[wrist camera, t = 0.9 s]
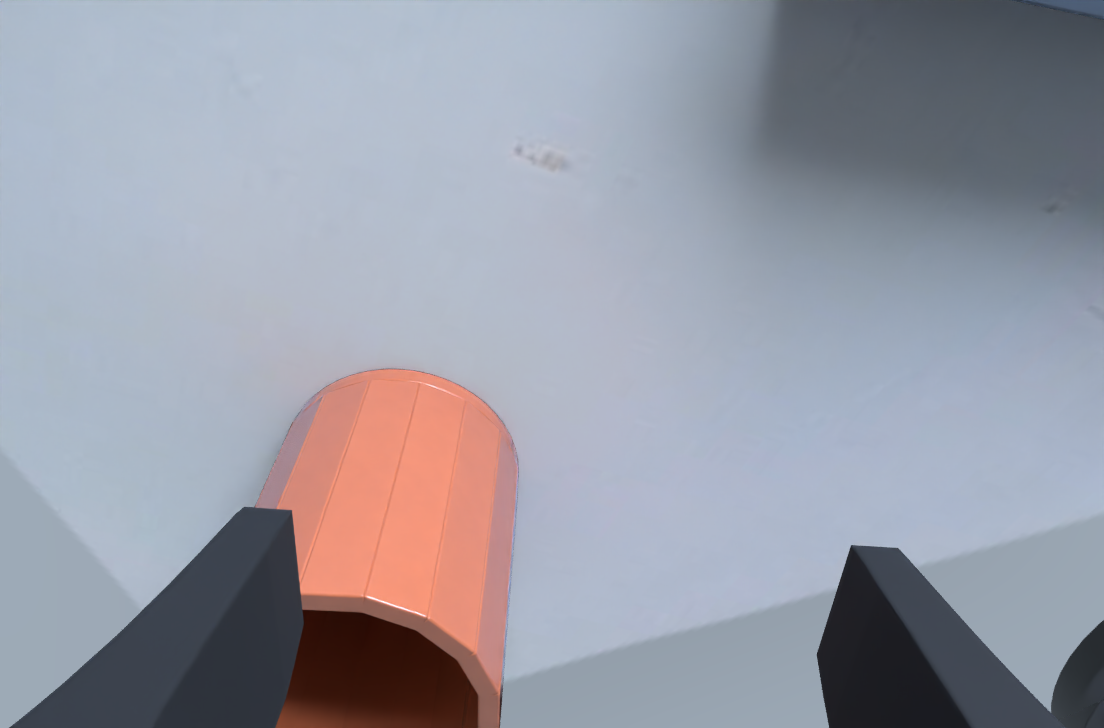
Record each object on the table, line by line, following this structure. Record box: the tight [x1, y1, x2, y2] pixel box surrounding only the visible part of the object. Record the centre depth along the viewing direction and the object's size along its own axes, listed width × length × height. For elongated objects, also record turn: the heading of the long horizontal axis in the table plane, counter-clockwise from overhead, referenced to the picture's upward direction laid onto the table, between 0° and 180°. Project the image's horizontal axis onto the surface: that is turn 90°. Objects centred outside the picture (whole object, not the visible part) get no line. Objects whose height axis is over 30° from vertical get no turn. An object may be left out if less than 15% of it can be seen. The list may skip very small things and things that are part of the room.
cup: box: [255, 369, 519, 728], centre depth 19 cm, size 6×6×7 cm
